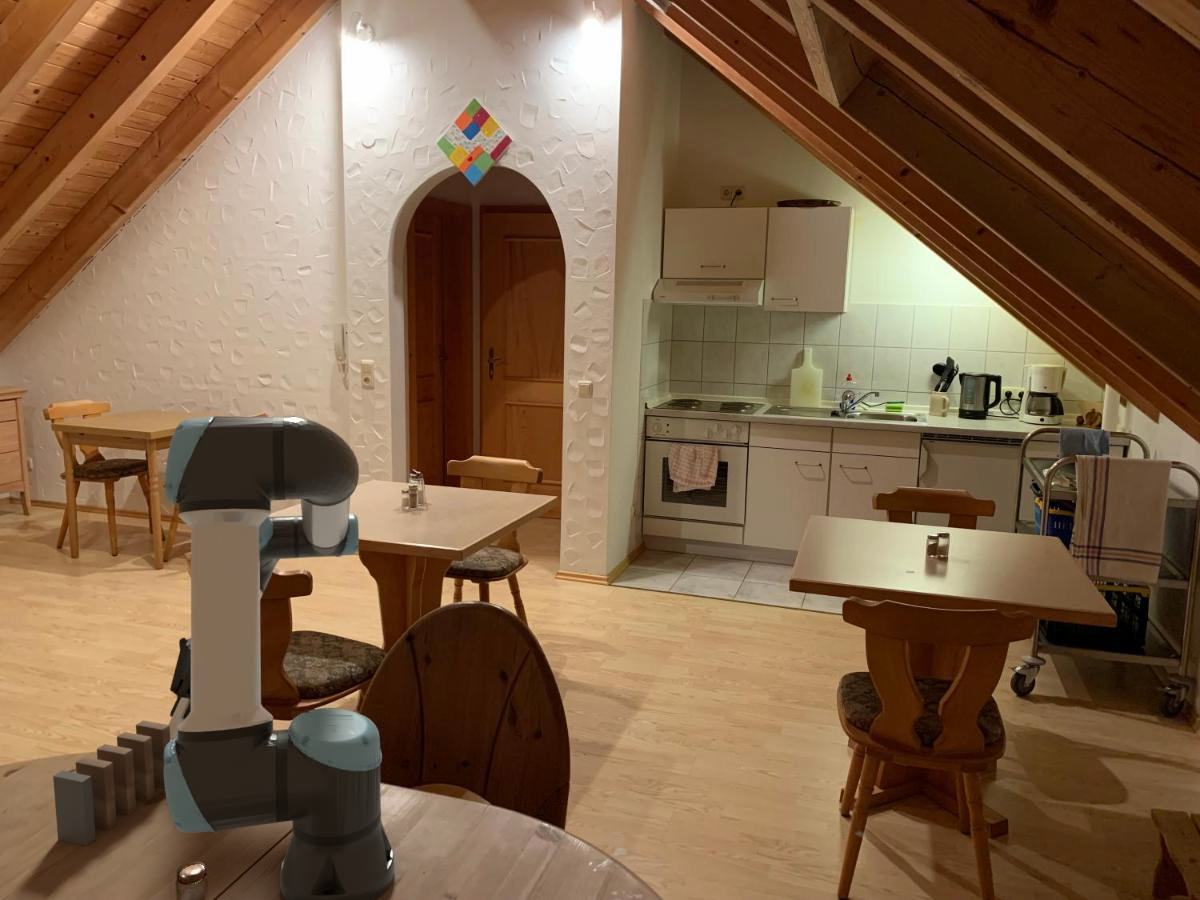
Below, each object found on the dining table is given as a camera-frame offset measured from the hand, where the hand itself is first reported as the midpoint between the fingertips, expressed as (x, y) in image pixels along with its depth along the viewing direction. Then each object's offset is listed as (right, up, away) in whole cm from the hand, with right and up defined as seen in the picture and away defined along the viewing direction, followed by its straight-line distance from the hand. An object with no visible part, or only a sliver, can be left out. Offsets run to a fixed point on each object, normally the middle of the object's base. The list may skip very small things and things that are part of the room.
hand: (171, 738), depth 149 cm
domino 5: (-1, -6, -3) cm, 7 cm away
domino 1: (-5, -9, -18) cm, 21 cm away
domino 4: (-2, -7, -7) cm, 10 cm away
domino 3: (-3, -7, -11) cm, 13 cm away
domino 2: (-4, -8, -14) cm, 17 cm away
